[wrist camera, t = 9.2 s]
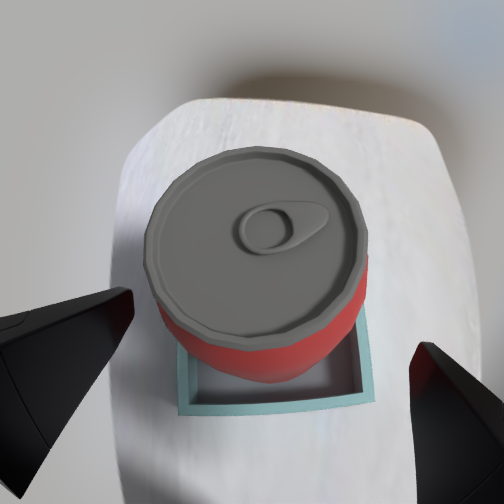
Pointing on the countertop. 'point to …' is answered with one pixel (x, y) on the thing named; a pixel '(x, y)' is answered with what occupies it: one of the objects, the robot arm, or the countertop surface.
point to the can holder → (280, 383)
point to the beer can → (258, 262)
